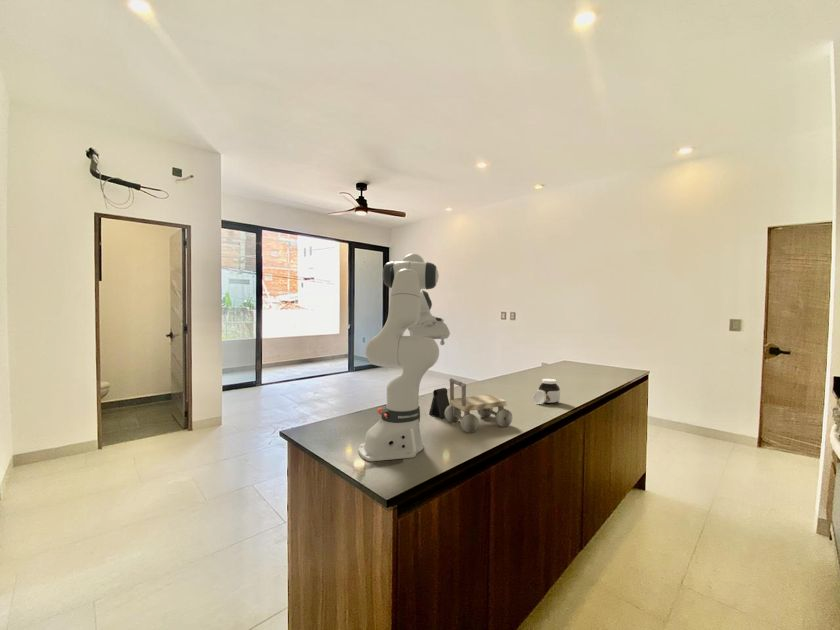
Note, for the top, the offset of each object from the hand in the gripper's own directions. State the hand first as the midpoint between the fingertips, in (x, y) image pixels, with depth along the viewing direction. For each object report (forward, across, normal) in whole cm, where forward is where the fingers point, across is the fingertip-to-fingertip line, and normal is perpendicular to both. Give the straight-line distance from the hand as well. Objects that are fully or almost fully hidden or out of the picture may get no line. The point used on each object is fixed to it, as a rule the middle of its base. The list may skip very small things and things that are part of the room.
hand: (434, 345), depth 172 cm
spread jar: (+33, +54, +11) cm, 65 cm away
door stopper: (+30, -2, +13) cm, 33 cm away
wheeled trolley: (+42, +7, +1) cm, 42 cm away
